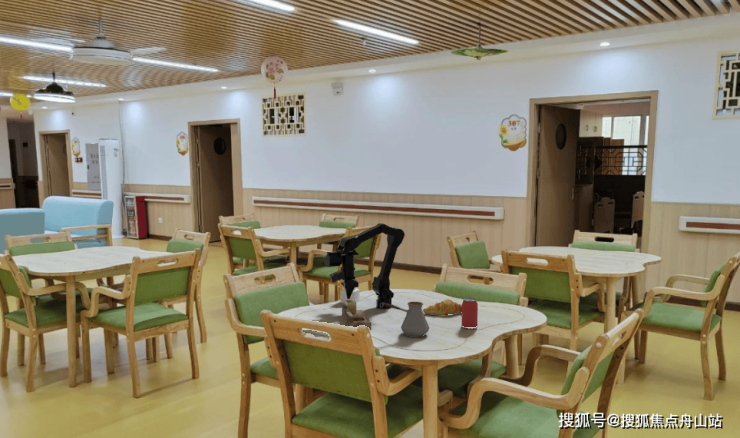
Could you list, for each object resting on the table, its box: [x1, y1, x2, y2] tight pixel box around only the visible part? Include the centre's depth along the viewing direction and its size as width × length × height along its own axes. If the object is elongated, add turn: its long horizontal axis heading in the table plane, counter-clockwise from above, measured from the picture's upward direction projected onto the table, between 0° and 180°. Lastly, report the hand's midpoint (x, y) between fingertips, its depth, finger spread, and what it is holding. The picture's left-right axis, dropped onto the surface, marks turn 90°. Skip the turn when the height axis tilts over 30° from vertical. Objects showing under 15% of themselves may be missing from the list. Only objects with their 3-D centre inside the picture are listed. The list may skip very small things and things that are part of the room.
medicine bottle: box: [339, 287, 360, 304], centre depth 275 cm, size 7×7×12 cm
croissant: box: [422, 298, 462, 316], centre depth 258 cm, size 21×10×8 cm, turn 100°
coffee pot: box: [380, 301, 430, 338], centre depth 224 cm, size 21×12×15 cm, turn 115°
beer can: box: [461, 297, 479, 327], centre depth 236 cm, size 7×7×12 cm
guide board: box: [341, 304, 372, 330], centre depth 243 cm, size 9×20×6 cm, turn 13°
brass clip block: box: [345, 300, 357, 313], centre depth 249 cm, size 4×4×5 cm
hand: (348, 298), depth 256 cm, fingers closed
